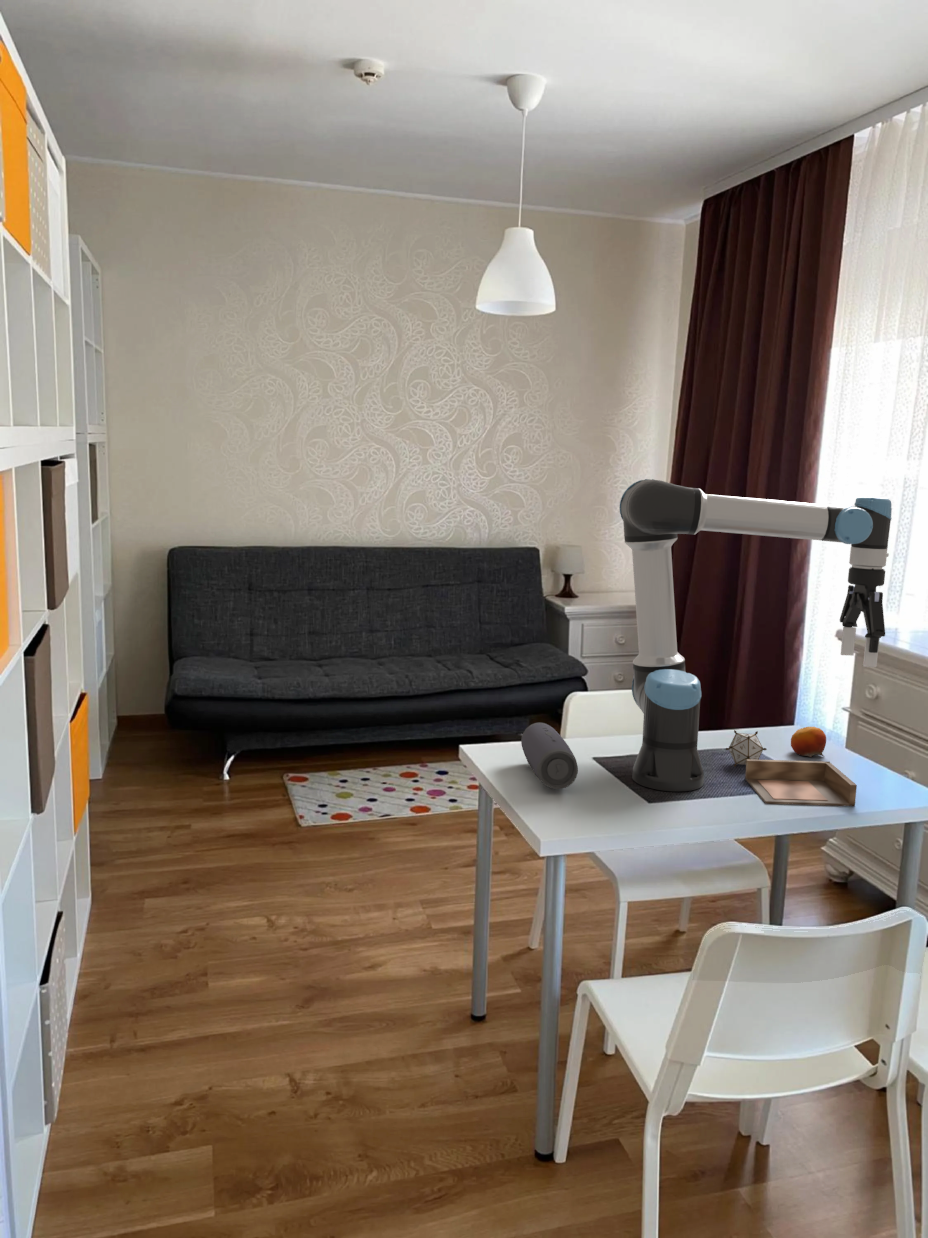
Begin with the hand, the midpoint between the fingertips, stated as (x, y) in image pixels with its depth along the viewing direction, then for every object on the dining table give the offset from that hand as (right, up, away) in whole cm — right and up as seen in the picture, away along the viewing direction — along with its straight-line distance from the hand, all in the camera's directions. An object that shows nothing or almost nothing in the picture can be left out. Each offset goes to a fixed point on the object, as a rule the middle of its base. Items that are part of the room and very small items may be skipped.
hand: (858, 660), depth 219 cm
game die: (-24, -24, +4) cm, 35 cm away
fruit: (-6, -23, +15) cm, 28 cm away
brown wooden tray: (-18, -27, -14) cm, 36 cm away
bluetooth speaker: (-71, -25, -8) cm, 76 cm away
